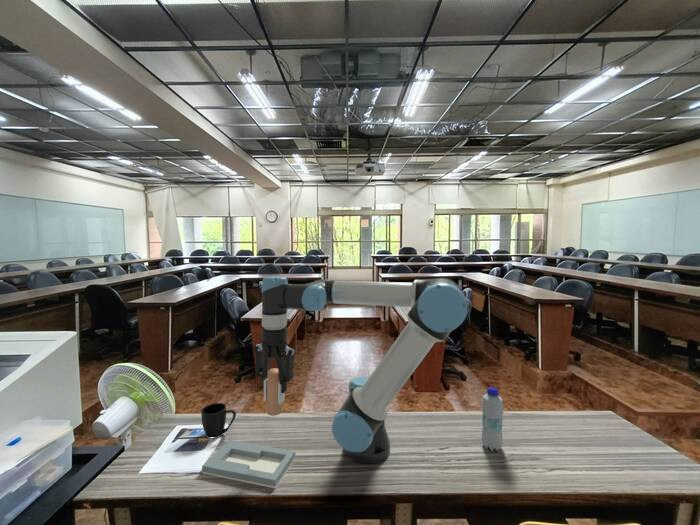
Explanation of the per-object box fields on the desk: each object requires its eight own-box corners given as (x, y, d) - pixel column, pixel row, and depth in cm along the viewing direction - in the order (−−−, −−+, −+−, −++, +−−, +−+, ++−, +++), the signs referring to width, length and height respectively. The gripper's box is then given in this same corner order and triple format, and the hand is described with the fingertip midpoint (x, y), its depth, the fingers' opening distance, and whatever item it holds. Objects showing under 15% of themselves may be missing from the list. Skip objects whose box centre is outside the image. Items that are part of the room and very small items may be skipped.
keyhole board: (295, 458, 102) (295, 451, 102) (275, 488, 89) (275, 480, 89) (229, 447, 108) (229, 440, 108) (202, 473, 95) (202, 465, 95)
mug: (230, 442, 111) (229, 415, 110) (197, 440, 112) (196, 413, 111) (240, 428, 119) (240, 403, 118) (210, 427, 120) (209, 402, 120)
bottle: (492, 438, 111) (492, 382, 110) (507, 450, 105) (508, 390, 104) (476, 443, 109) (477, 385, 108) (491, 455, 102) (492, 393, 101)
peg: (284, 409, 102) (284, 369, 101) (276, 416, 97) (277, 374, 97) (272, 407, 103) (272, 367, 102) (264, 414, 99) (264, 372, 98)
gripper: (305, 326, 99) (304, 400, 101) (257, 321, 105) (257, 391, 106) (293, 332, 92) (293, 411, 94) (242, 326, 98) (242, 401, 99)
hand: (274, 400), depth 100 cm, fingers closed on peg, 4 cm apart
